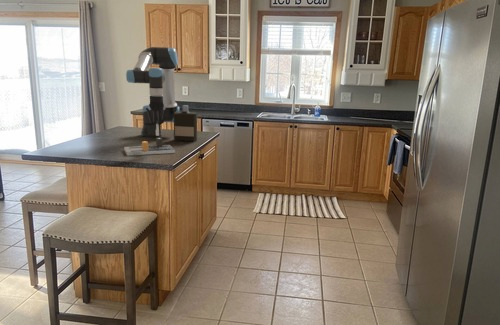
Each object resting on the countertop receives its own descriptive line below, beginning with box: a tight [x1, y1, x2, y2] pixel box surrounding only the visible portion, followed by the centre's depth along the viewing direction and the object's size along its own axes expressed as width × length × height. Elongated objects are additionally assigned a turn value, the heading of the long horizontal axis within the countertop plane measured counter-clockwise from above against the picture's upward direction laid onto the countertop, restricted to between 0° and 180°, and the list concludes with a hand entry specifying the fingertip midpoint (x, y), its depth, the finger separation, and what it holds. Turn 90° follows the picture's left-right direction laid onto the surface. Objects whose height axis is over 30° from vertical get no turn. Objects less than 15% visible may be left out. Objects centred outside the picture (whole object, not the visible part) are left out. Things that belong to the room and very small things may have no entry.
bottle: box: [173, 104, 198, 143], centre depth 254 cm, size 8×16×25 cm, turn 88°
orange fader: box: [141, 140, 149, 151], centre depth 213 cm, size 4×3×5 cm
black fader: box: [155, 137, 163, 147], centre depth 225 cm, size 4×3×5 cm
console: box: [123, 144, 176, 157], centre depth 219 cm, size 15×28×2 cm, turn 114°
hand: (157, 135), depth 215 cm, fingers closed
